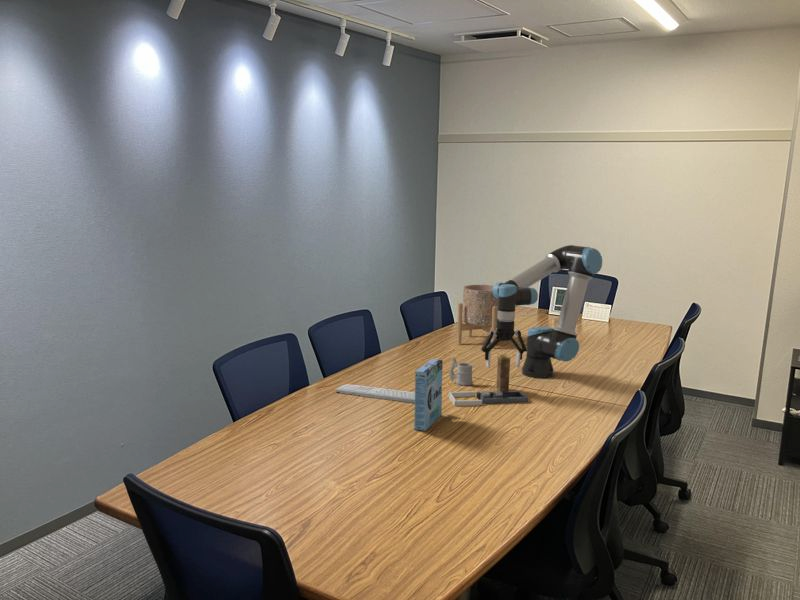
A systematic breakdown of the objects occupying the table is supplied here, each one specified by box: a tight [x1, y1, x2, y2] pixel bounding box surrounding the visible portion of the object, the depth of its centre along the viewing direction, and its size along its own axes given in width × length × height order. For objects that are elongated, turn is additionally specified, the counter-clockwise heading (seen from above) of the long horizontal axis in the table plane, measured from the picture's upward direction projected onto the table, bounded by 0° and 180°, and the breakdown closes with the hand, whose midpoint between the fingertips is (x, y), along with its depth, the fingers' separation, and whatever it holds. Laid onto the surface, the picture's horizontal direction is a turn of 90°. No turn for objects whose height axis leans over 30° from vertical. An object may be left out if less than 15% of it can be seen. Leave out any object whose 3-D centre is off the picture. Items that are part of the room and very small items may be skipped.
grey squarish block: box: [479, 390, 490, 399], centre depth 283 cm, size 3×4×4 cm
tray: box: [447, 390, 483, 407], centre depth 282 cm, size 12×12×3 cm
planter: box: [456, 284, 502, 350], centre depth 383 cm, size 22×23×32 cm
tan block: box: [496, 353, 511, 391], centre depth 295 cm, size 4×5×17 cm
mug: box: [449, 357, 474, 387], centre depth 306 cm, size 8×12×12 cm, turn 55°
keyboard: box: [334, 383, 415, 404], centre depth 291 cm, size 44×12×2 cm, turn 70°
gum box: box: [413, 358, 443, 432], centre depth 257 cm, size 20×5×23 cm, turn 158°
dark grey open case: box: [475, 390, 529, 405], centre depth 284 cm, size 20×10×3 cm, turn 99°
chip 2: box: [492, 389, 503, 398], centre depth 284 cm, size 3×4×4 cm
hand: (502, 367), depth 294 cm, fingers open, 13 cm apart
